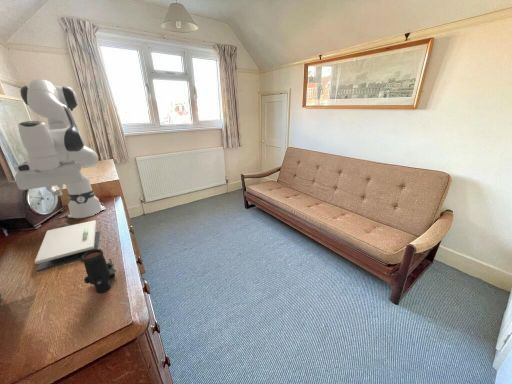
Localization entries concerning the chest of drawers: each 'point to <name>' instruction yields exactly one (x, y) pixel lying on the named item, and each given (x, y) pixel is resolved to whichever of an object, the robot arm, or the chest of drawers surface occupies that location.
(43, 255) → the panel
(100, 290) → the scope
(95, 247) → the stage base
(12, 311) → the chest of drawers surface
